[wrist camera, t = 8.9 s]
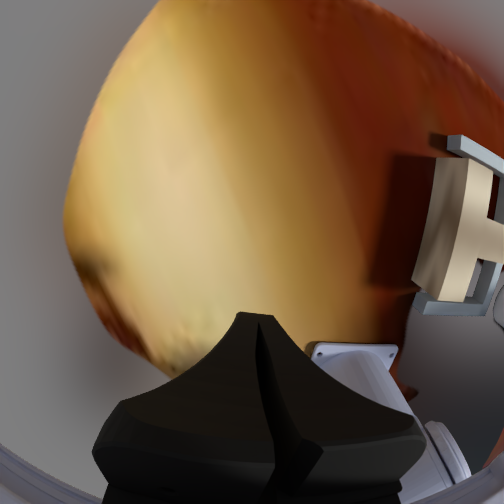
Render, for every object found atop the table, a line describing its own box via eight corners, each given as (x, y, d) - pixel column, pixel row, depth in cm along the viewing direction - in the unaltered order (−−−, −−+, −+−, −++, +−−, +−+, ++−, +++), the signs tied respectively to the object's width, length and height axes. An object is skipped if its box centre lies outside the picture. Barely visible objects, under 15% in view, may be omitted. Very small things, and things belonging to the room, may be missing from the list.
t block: (475, 287, 20) (500, 304, 16) (411, 279, 20) (437, 300, 16) (498, 187, 17) (527, 193, 14) (436, 157, 17) (469, 158, 13)
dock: (474, 308, 21) (484, 316, 19) (412, 305, 20) (422, 314, 19) (507, 169, 17) (519, 170, 15) (447, 135, 16) (461, 134, 15)
